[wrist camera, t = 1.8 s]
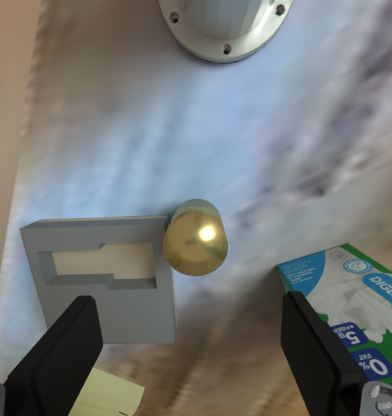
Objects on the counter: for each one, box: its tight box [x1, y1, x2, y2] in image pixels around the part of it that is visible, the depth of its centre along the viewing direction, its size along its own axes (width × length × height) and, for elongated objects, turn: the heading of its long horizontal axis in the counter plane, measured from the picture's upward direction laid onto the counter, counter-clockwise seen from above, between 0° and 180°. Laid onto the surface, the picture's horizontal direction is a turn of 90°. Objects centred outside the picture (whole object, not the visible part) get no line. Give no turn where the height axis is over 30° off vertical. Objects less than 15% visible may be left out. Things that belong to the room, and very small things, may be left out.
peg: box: [163, 199, 228, 276], centre depth 21 cm, size 5×5×9 cm
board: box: [20, 215, 177, 344], centre depth 27 cm, size 16×16×3 cm
